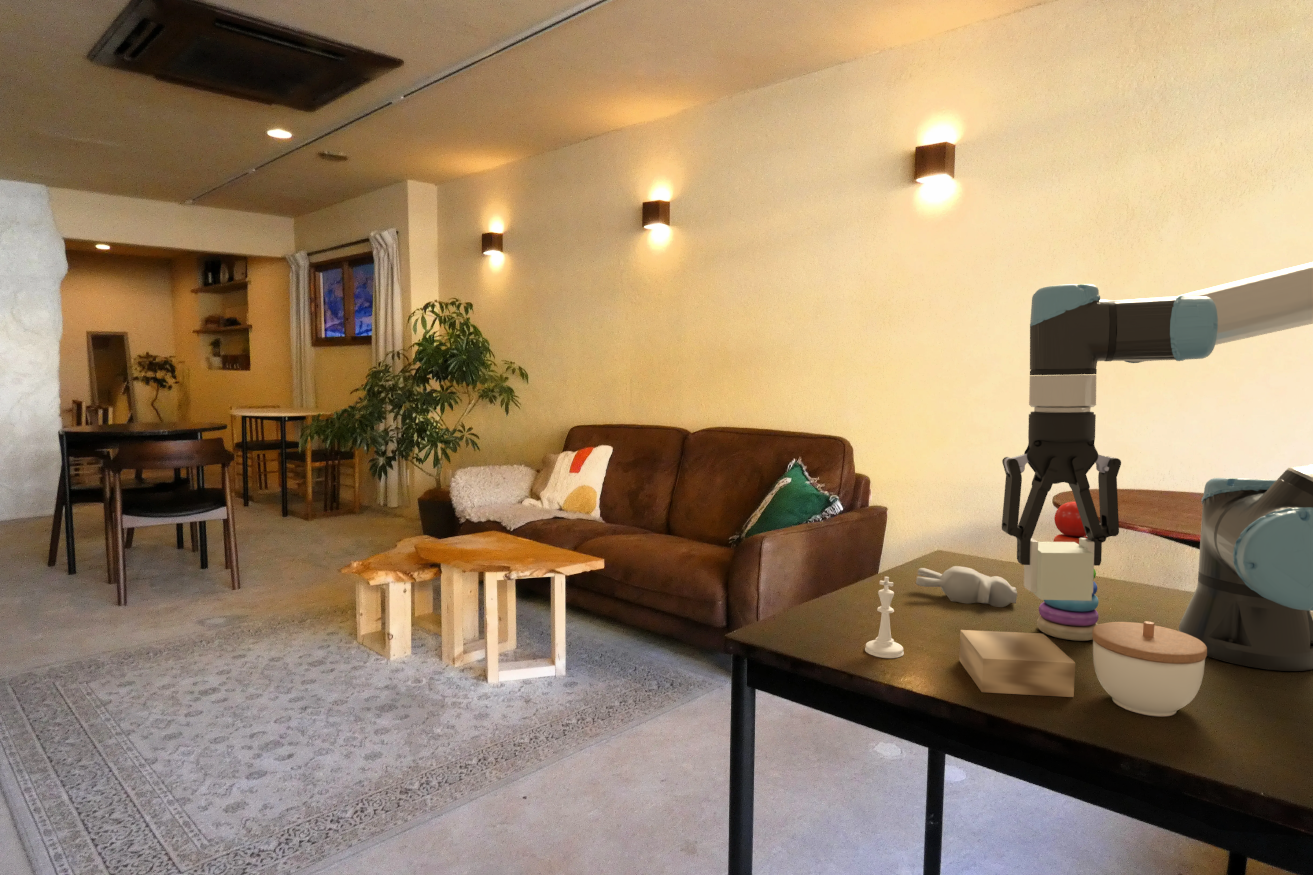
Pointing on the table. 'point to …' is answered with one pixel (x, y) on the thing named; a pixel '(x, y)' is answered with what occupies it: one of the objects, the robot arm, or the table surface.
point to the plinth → (1016, 663)
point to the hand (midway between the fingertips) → (1057, 589)
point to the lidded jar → (1148, 666)
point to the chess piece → (885, 627)
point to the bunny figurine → (969, 586)
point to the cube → (1064, 571)
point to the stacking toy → (1069, 614)
